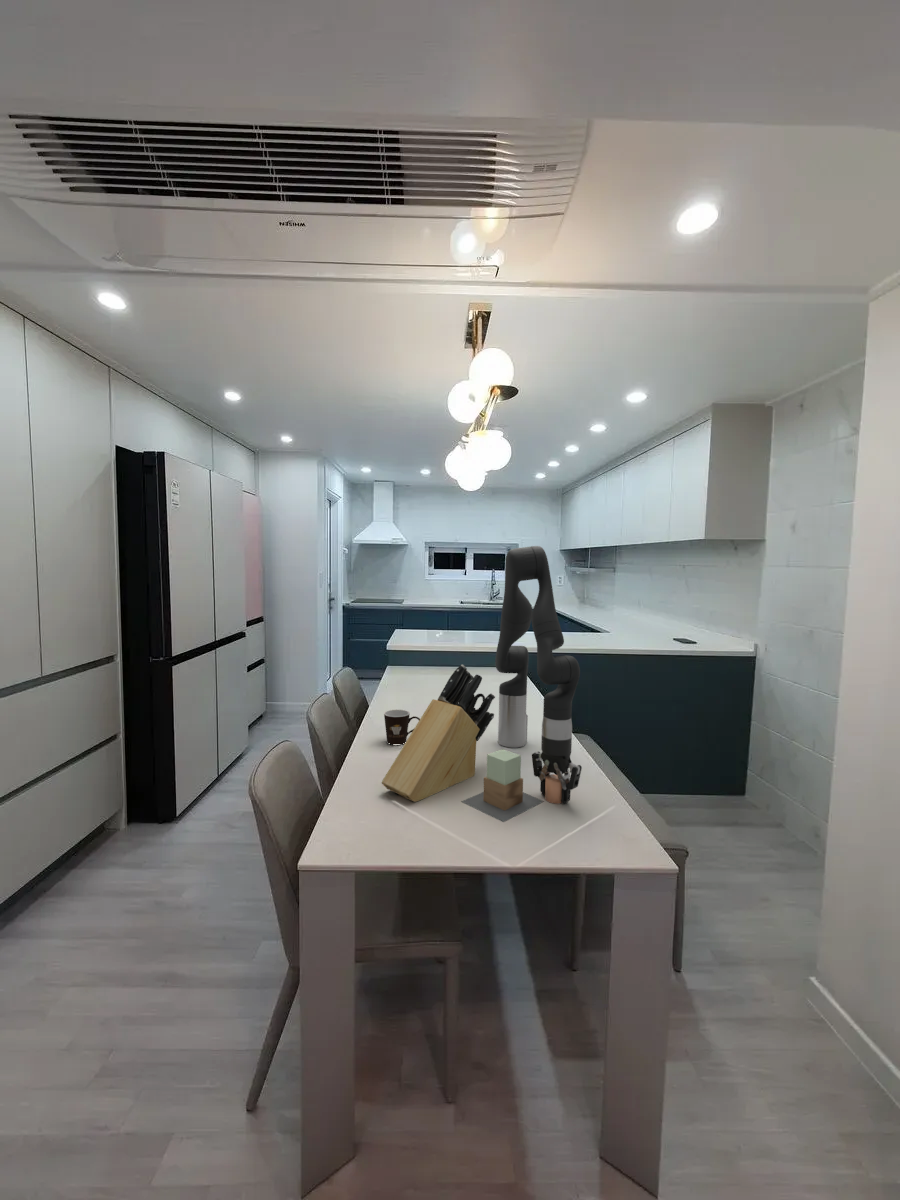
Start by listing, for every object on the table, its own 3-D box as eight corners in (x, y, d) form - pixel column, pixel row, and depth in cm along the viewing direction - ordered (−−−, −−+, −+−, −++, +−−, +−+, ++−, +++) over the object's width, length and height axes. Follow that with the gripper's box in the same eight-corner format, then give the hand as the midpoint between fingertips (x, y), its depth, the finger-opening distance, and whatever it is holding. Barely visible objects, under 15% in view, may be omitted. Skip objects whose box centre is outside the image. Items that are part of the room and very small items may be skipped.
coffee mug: (379, 744, 172) (379, 714, 172) (391, 736, 180) (391, 708, 180) (410, 749, 168) (410, 719, 167) (421, 741, 176) (422, 712, 175)
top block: (502, 771, 135) (502, 749, 134) (520, 778, 131) (520, 755, 130) (486, 777, 131) (487, 754, 130) (504, 785, 126) (505, 761, 126)
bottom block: (501, 792, 136) (502, 770, 136) (522, 801, 131) (523, 778, 130) (483, 800, 131) (483, 777, 131) (504, 810, 126) (505, 786, 126)
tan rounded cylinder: (552, 794, 136) (553, 772, 136) (568, 801, 133) (569, 778, 132) (540, 800, 133) (541, 777, 133) (557, 807, 129) (557, 784, 129)
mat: (502, 785, 142) (502, 783, 142) (544, 803, 132) (544, 801, 131) (461, 803, 131) (461, 801, 131) (503, 824, 121) (503, 822, 120)
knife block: (496, 768, 154) (499, 665, 152) (409, 808, 128) (410, 684, 126) (468, 758, 161) (469, 660, 159) (380, 793, 135) (380, 677, 133)
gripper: (589, 737, 129) (587, 803, 130) (542, 724, 139) (540, 785, 141) (572, 744, 124) (570, 813, 125) (525, 730, 134) (523, 793, 135)
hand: (554, 798), depth 133 cm, fingers open, 5 cm apart
